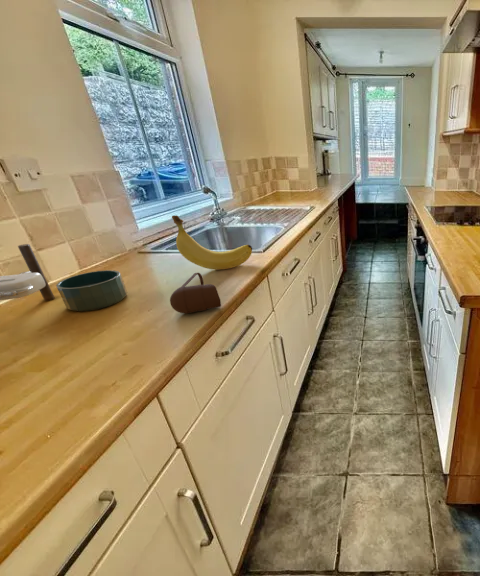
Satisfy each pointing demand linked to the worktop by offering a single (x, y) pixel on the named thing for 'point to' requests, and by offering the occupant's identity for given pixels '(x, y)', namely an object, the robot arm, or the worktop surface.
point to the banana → (208, 251)
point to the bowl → (92, 290)
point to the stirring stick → (35, 269)
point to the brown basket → (195, 297)
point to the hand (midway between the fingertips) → (3, 277)
